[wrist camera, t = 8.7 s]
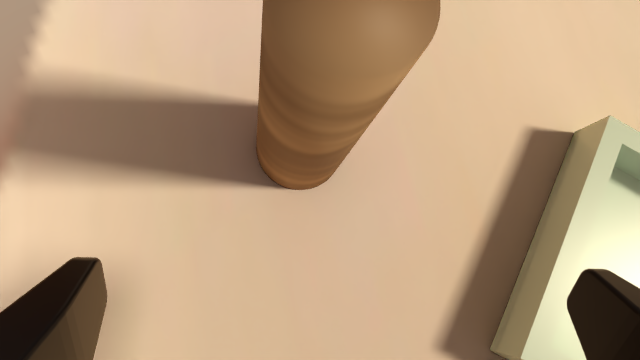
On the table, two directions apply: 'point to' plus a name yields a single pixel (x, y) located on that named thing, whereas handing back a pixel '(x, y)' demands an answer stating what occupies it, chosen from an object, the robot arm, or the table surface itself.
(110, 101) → the table surface
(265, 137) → the walnut dowel
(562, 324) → the tray
